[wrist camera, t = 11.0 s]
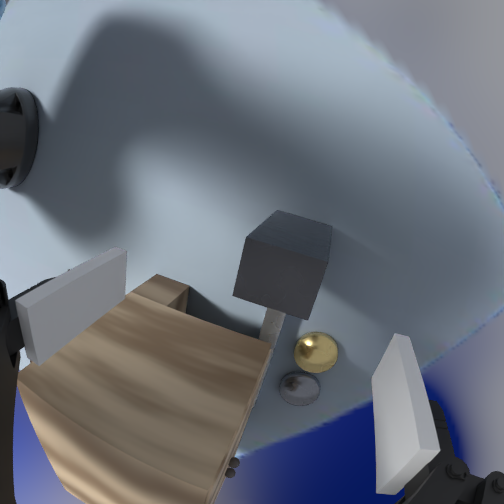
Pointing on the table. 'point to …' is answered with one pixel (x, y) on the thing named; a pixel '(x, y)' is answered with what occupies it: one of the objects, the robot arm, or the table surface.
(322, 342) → the brass disc
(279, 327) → the grey mallet
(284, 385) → the steel disc
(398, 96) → the table surface
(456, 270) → the table surface
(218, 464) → the cabinet
